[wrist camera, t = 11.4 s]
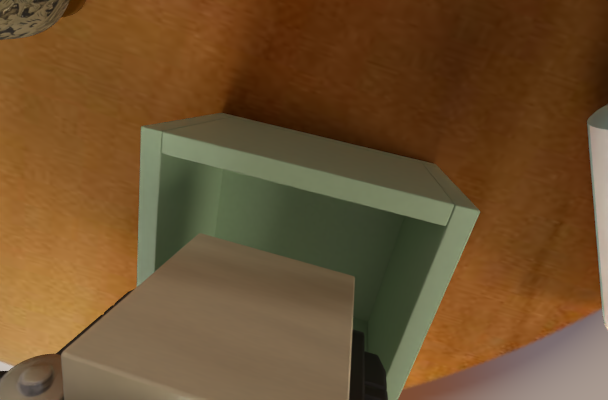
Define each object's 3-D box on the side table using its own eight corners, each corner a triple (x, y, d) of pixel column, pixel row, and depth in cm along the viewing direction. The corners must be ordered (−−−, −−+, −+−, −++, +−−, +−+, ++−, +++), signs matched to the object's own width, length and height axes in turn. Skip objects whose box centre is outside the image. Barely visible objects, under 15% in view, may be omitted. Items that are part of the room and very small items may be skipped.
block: (199, 231, 10) (58, 352, 5) (355, 275, 10) (347, 449, 5) (186, 351, 12) (71, 520, 7) (318, 393, 11) (287, 604, 7)
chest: (221, 112, 18) (140, 125, 11) (436, 164, 16) (481, 211, 10) (202, 275, 21) (134, 354, 15) (377, 326, 20) (382, 435, 14)
